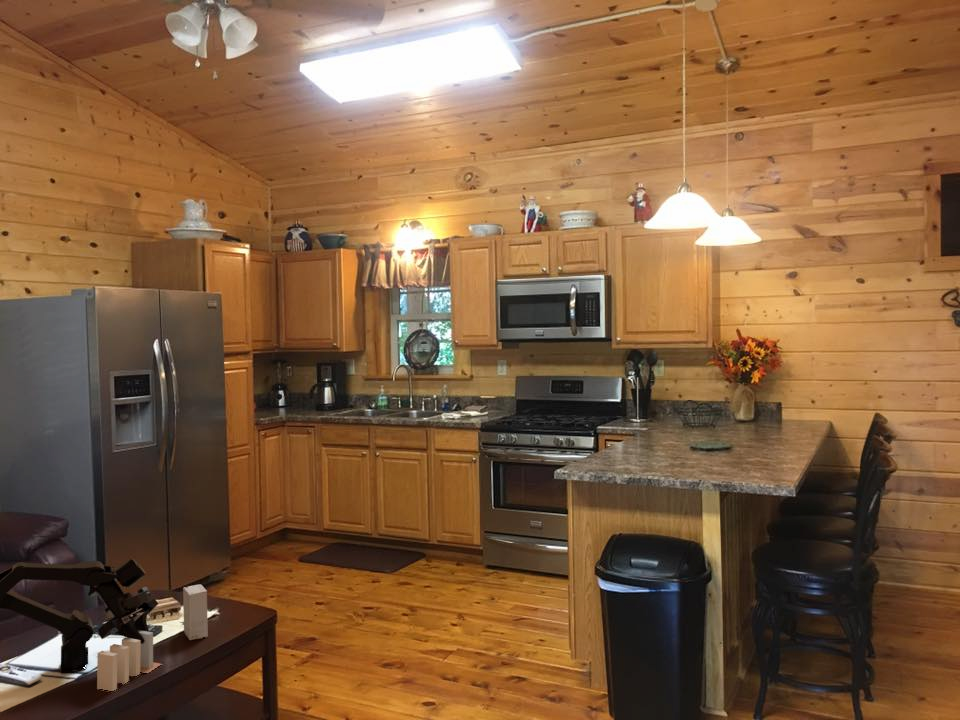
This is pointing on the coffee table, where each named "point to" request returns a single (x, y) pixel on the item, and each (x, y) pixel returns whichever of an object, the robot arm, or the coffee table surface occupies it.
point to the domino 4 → (146, 650)
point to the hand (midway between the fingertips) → (146, 641)
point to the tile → (145, 670)
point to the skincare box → (195, 612)
